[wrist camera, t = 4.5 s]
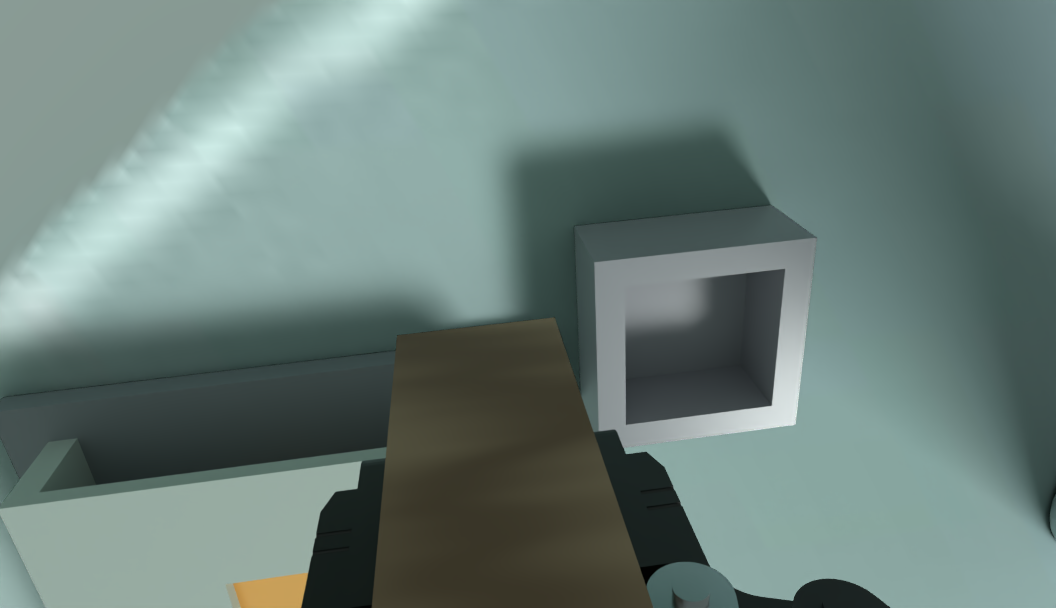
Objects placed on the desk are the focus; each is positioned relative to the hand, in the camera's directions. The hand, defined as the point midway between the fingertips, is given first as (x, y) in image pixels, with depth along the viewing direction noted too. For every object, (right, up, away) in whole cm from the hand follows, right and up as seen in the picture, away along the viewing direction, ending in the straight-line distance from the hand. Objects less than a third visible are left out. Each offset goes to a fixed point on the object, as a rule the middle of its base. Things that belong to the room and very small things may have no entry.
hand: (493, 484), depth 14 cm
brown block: (0, +1, +3) cm, 3 cm away
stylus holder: (+6, +3, +15) cm, 16 cm away
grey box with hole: (-8, -6, +17) cm, 20 cm away
